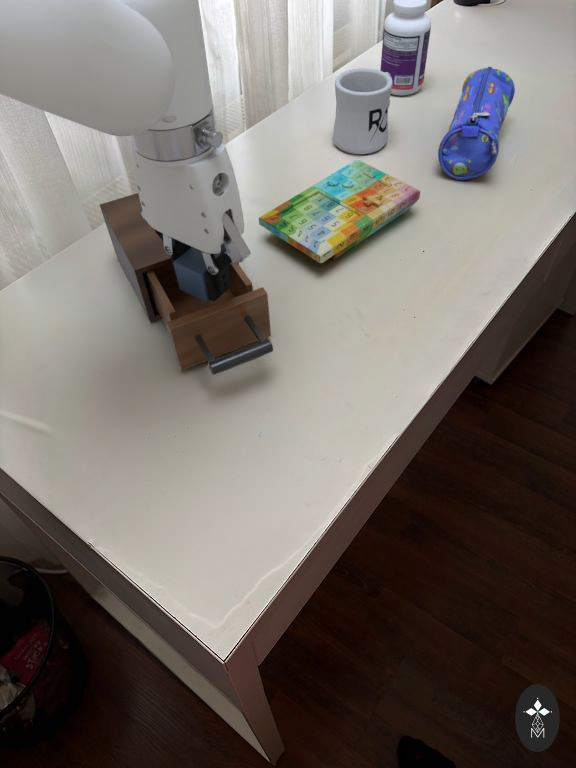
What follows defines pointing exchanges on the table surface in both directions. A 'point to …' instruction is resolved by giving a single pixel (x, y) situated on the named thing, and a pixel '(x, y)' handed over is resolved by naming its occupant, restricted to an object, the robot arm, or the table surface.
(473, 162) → the pencil case
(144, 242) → the cabinet
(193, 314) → the drawer
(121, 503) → the table surface
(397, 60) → the pill bottle
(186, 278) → the block
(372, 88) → the mug
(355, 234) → the puzzle game
